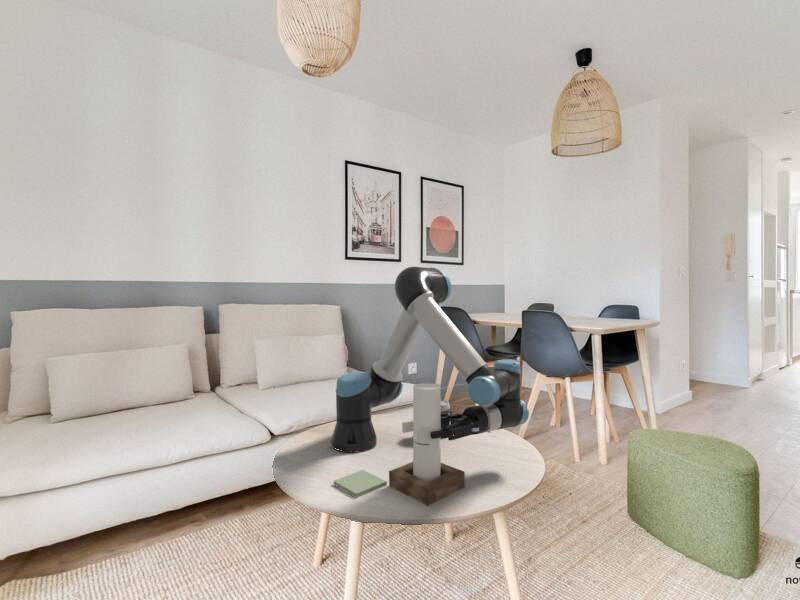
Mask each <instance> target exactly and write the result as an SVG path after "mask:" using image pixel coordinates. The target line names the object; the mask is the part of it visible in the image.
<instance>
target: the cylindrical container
mask: <svg viewBox="0 0 800 600" xmlns="http://www.w3.org/2000/svg"><path fill="white" fill-rule="evenodd" d="M412 387H413V389H412V390H413V391H412V403H413V404H412V408H413V411H412V413H413V414H412V415H413V416H412V417H413V418H412V419H413V431H412V432H413V434H412V436H413V437H412V439H413V440H412V445H413V446H412V448H413V449H412V452H413V453H412V462H413V476H416V477H418V478H420V479H422V480H425V481H427V482H428V481H430V480H433V479H435V478H437V477H439V476H440V475H441V463H442V462H441V456H442V455H441V450H442V449H441V447H442V445H441V440H442V439H441V438H439V439H434V440H429V441H424V442H418V431H419V430H424V429H430V428H435V427H441V400H442V399H441V398H442V397H441V393H442V392H441V389H442V388H441V387H442V386H441V385H440V384H436V383H430V382H429V383H428V382H422V383H421V382H420V383H415V384H413V386H412Z"/></svg>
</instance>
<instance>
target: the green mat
mask: <svg viewBox="0 0 800 600" xmlns="http://www.w3.org/2000/svg"><path fill="white" fill-rule="evenodd" d="M334 484H335V485H337V486H338V487H337V486H336V487H337V488H339V487H340V488H341V490H342V489H343V490H342V491H344V490H345V491H344V492H346V491H347V492H348V494H349V495H351V496H353V497H354V496H355V498H360V497H362V496H364V495H366V494H369V493H371V492H374V491H376V490H378V489H381V488H383V487H385V486H387V480H384V479H383V478H381V477H379V476H376V475H374V474H372V473H370V472H368V471H367V470H364V469H362V470H359V471H356V472H354V473H351V474H348V475H345V476H343V477H340V478H338V479H335V480H333V485H334ZM335 485H334V486H335ZM340 488H339V489H340ZM347 492H346V493H347ZM359 496H360V497H359Z"/></svg>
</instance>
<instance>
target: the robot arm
mask: <svg viewBox="0 0 800 600" xmlns="http://www.w3.org/2000/svg"><path fill="white" fill-rule="evenodd" d="M394 291H395V295H396V298H397V300H398V301H399V303H400V305H401V306H402V308H403V309H402V312H401V314H400V316H399V318H398V320H397V323H396V325H395V327H394V328H393V331H392V333H391V335H390V337H389V339H388V341H387V344H386V346H385V348H384V351H383V353H382V355H381V356H380V359H379V360H377V361H375V362H374V363H372V366H371V368H370V369H369V372H367V371H354V372H348V373H344V374H342V375H341V376H339V377H338V378H337V380H336V387H335V398H336V399H335V400H336V401H335V403H336V422H335V423H336V424H335V425H334V429H333V432H332V436H331V438H330V439H331V440H330V441H331V442H330V445H331V444H332V446H333V447H334V448H336V449H339V450H342V451H352V452H351V453H357V452H356V451H361V452H365V450H366V451H369V450H371V449H373V448H375V447H376V445H377V443H378V441H377V439H378V438H377V437H378V436H377V434H376V431H375V428H374V425H373V422H372V409H374V408H376V407H380V406H383V405H386V404H390V403H391V402H393V401H395V400H397V399H398V398H399V397H400V395H401V393H402V391H403V387H404V384H403V383H402V382H403V376H404V375H403V373H402V371H403V368H404V366H405V364H406V362H407V360H408V358H409V357H410V354H411V352H412V350H413V348H414V345H415V344H416V341H417V339H418V337H420V333H421V331H422V329H424V330H425V331H426V332H427V334H428V335H429V336H430V338H431V339H432V340H433V342H434V343H435V344H436V345H437V347H438V348H439V349H440V350H441V351H442V353H443V355H444V356H445V358H447V359H448V360H449V362H450V363H451V364H452V366H453V367H454V368H455V369H456V370H457V372H458V374H459V375H460V376H461V377H462V378H463V379H464V381H465V382H466V384H467V385H468V386H467V391H468V395H469V398H470V399H471V401H472V402H473V403H475V404H477V405H474V406H473V405H472V406H467V407H466V408H464V411H463V412H461V413H455V414H454V413H452V411H450V410H449V412H445V413H441V427H442V430H441V427H435V428H430V429H424V430H419V431H418V442H424V441H429V440H434V439H439V438H441V437H442V439H444V440H445V439H448V441H455V440H458V439H462V438H464V437H465V438H466V437H468V436H472V435H480V434H484V433H488V434H490V433H491V432H492V431H493V432H494V431H499V430H501V429H503V430H505V429H510V428H515V427H518V426H521V425H524V424H526V422H527V421H528V419H529V416H530V412H529V409H528V405H527V403H525V401H523V400H522V399H521V382H522V381H521V380H522V379H521V376H522V373H521V372H522V371H521V364H520V362H519V361H517V360H512V359H499V360H498V359H497V360H495V361H494V363H493V364H494V365H493V370H492V369H491V368H490V366H489V365H488V364H487V362H486V361H485V360H484V359H483V357H482V356H481V355H480V354H479V352H478V351H477V350H476V349H475V348H474V346H473V345H472V344H471V343H470V341H468V339H467V338H466V337H465V336H464V334H463V333H462V332H461V331H460V330H459V328H458V327H457V326H456V324H455V323H454V322H453V321H452V320H451V319H450V317H449V316H448V315H447V313H445V311H444V310H443V309H442V307H440V304H442V303H444V302H445V301H447V299H449V298H450V297H451V292H452V282H451V279H450V277H449V275H448V274H447V273H446V272H445V271H443V270H441V269H439V268H436V267H420V266H410V267H406V268H404V269H403V270H401V272H399V274H398V275H397V276H396V279H395V282H394ZM401 425H402V427H401V428H402V430H401V431H402V433H403V434H407V433H411V432H413V420H407V421H402V424H401ZM332 446H331V447H332ZM333 447H332V448H333ZM334 448H333V449H334ZM342 451H341V452H342Z"/></svg>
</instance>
